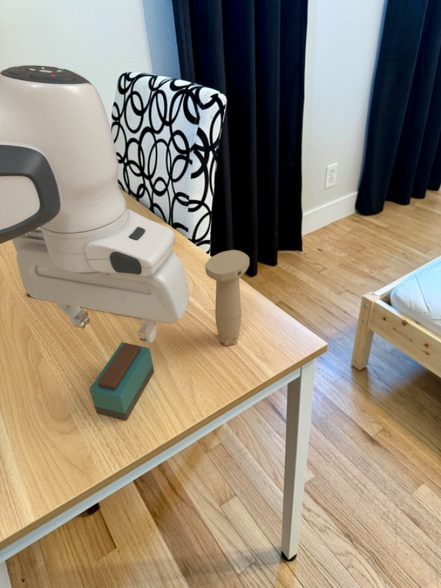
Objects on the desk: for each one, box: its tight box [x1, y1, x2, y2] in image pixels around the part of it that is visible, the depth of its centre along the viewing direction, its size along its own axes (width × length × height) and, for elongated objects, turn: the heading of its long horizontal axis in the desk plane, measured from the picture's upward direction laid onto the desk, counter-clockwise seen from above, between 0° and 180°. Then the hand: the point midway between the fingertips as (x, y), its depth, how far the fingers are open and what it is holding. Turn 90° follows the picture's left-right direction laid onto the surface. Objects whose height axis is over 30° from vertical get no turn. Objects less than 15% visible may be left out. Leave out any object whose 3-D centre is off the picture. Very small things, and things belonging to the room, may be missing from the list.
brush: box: [88, 341, 155, 422], centre depth 59 cm, size 4×9×6 cm, turn 163°
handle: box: [204, 249, 250, 347], centre depth 64 cm, size 5×6×15 cm
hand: (114, 331), depth 54 cm, fingers open, 8 cm apart
